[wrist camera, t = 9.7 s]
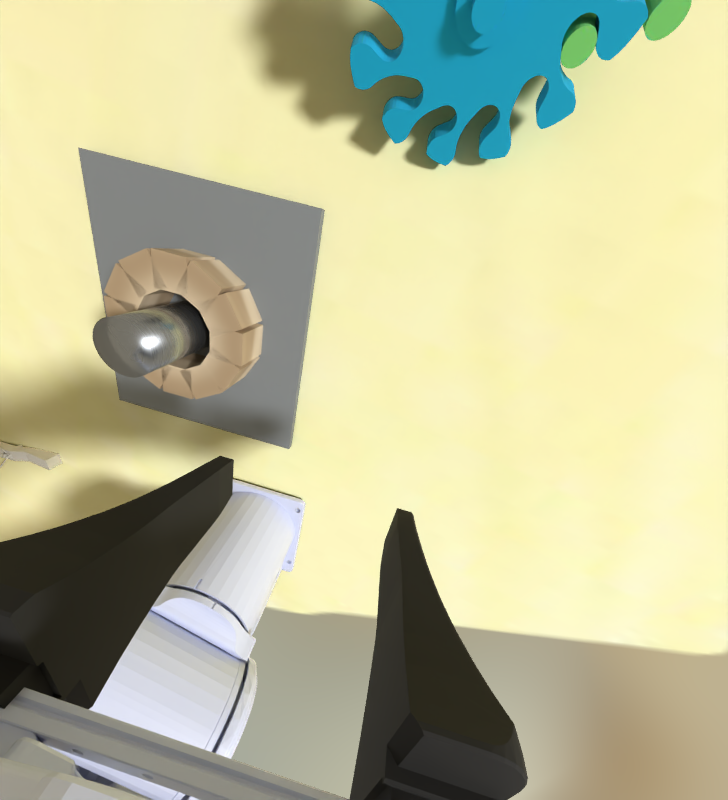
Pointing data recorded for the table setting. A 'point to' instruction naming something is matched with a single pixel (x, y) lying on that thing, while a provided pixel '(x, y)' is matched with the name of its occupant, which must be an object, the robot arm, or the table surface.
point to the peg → (150, 338)
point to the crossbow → (29, 455)
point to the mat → (242, 253)
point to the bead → (215, 299)
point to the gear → (497, 58)
